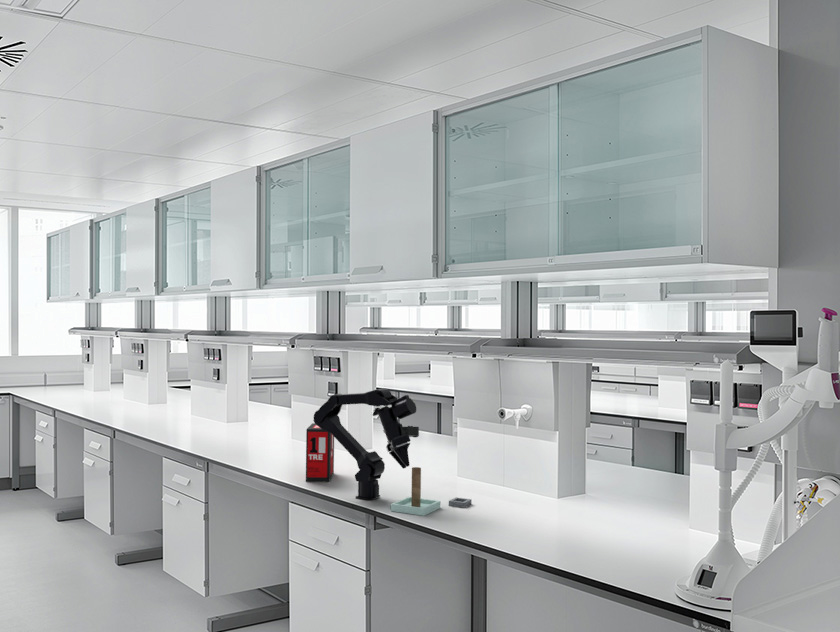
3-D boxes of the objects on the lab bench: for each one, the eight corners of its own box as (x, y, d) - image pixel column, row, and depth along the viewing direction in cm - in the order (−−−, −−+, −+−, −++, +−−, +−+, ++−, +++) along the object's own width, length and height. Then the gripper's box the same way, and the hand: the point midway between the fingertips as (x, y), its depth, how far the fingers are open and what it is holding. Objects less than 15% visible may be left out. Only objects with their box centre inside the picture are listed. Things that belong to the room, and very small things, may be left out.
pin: (409, 505, 253) (410, 467, 253) (417, 504, 255) (417, 466, 255) (414, 507, 251) (415, 469, 251) (422, 506, 252) (422, 468, 252)
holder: (448, 505, 258) (448, 500, 258) (455, 502, 263) (455, 497, 264) (464, 507, 256) (464, 502, 256) (471, 504, 261) (471, 499, 261)
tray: (390, 510, 250) (391, 504, 250) (408, 503, 261) (408, 496, 261) (423, 515, 245) (423, 508, 245) (440, 507, 255) (440, 501, 255)
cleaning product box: (311, 473, 310) (312, 423, 310) (333, 473, 310) (334, 423, 310) (305, 481, 293) (306, 429, 293) (329, 482, 293) (329, 429, 293)
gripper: (416, 412, 257) (432, 456, 254) (409, 419, 275) (424, 461, 272) (384, 423, 254) (401, 468, 251) (379, 430, 272) (394, 472, 269)
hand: (406, 467), depth 261 cm, fingers open, 9 cm apart
